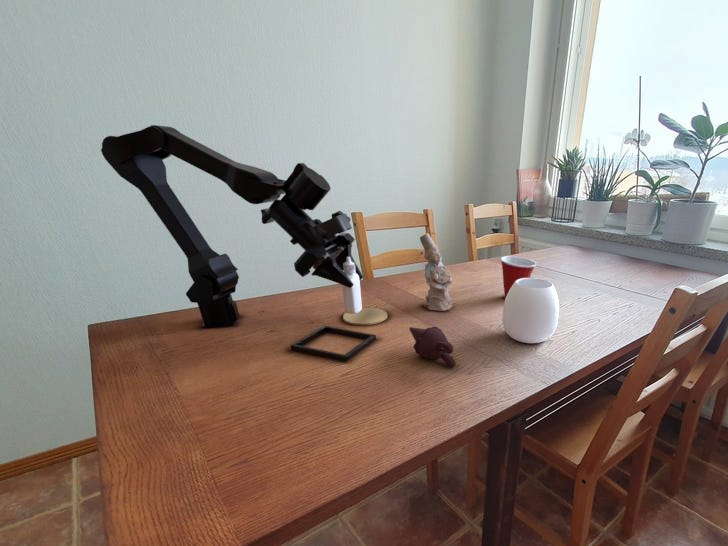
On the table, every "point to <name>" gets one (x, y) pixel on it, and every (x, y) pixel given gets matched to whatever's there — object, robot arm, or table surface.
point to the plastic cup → (515, 270)
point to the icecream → (433, 344)
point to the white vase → (531, 310)
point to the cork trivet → (366, 316)
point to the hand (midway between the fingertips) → (357, 282)
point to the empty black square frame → (300, 348)
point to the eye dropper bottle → (352, 289)
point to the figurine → (436, 277)
